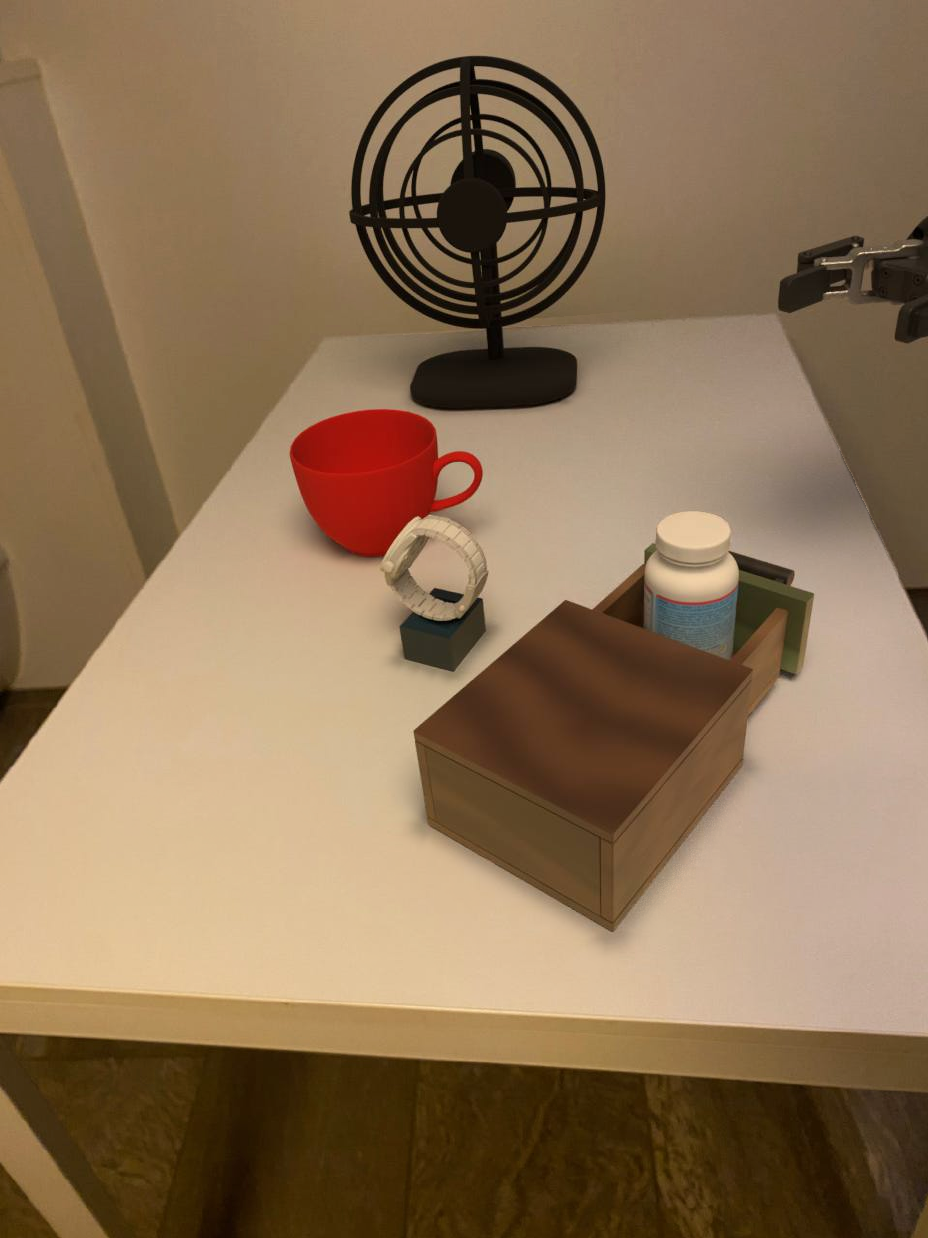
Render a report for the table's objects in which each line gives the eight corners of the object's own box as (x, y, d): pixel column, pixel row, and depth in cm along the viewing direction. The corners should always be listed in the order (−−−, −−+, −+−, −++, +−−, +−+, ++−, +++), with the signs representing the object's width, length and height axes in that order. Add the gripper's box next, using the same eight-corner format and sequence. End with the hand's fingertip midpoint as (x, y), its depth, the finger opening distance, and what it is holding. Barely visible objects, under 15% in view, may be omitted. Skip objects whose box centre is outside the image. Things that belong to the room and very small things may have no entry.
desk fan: (369, 422, 111) (314, 77, 90) (394, 363, 125) (351, 53, 104) (606, 413, 107) (605, 51, 86) (605, 354, 121) (604, 30, 100)
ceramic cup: (473, 582, 82) (462, 478, 76) (289, 572, 86) (265, 472, 80) (501, 506, 92) (494, 409, 86) (335, 501, 96) (318, 407, 90)
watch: (417, 614, 79) (400, 496, 73) (505, 635, 76) (495, 513, 69) (382, 653, 75) (360, 533, 69) (473, 677, 72) (460, 553, 65)
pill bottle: (749, 668, 67) (764, 529, 60) (685, 706, 64) (693, 565, 58) (686, 629, 71) (694, 495, 64) (624, 662, 69) (625, 527, 62)
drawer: (680, 582, 78) (683, 514, 74) (830, 632, 71) (842, 560, 67) (542, 715, 66) (538, 643, 63) (705, 789, 60) (711, 713, 56)
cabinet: (568, 690, 70) (565, 599, 65) (742, 765, 62) (753, 668, 57) (428, 825, 61) (412, 730, 56) (612, 932, 53) (613, 833, 48)
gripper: (1079, 326, 64) (932, 399, 57) (888, 285, 73) (743, 343, 66) (1113, 206, 59) (960, 269, 52) (906, 179, 69) (753, 229, 62)
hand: (839, 310), depth 59 cm, fingers open, 8 cm apart
